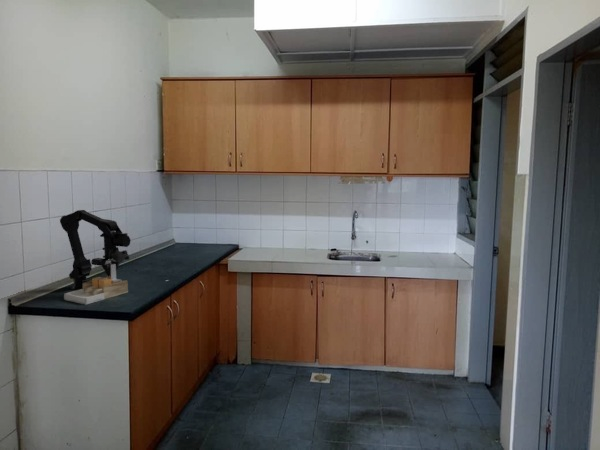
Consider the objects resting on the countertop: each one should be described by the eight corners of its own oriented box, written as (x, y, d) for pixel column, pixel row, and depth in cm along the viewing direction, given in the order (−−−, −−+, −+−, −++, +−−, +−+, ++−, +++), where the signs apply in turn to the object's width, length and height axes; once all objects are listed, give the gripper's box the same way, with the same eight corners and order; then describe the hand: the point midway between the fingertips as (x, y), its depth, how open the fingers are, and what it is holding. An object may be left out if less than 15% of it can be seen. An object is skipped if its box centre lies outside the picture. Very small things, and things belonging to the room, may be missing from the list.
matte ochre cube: (92, 286, 217) (92, 278, 216) (99, 284, 220) (99, 276, 220) (97, 287, 215) (97, 279, 215) (104, 285, 219) (104, 277, 218)
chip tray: (64, 299, 208) (63, 293, 207) (83, 294, 216) (82, 288, 216) (85, 304, 200) (85, 298, 200) (104, 299, 209) (104, 293, 209)
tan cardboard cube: (99, 287, 215) (98, 279, 214) (106, 285, 218) (105, 278, 218) (104, 288, 213) (104, 280, 212) (111, 286, 216) (111, 279, 216)
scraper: (102, 282, 222) (101, 263, 221) (108, 281, 226) (107, 262, 225) (115, 285, 218) (114, 266, 216) (122, 283, 221) (121, 264, 220)
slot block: (83, 294, 216) (82, 282, 216) (107, 288, 229) (106, 277, 228) (104, 299, 209) (103, 287, 208) (128, 292, 221) (127, 280, 220)
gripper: (105, 250, 207) (106, 281, 209) (136, 244, 224) (137, 273, 226) (89, 247, 212) (91, 278, 214) (121, 242, 229) (122, 271, 231)
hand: (111, 275), depth 221 cm, fingers closed on scraper, 3 cm apart
